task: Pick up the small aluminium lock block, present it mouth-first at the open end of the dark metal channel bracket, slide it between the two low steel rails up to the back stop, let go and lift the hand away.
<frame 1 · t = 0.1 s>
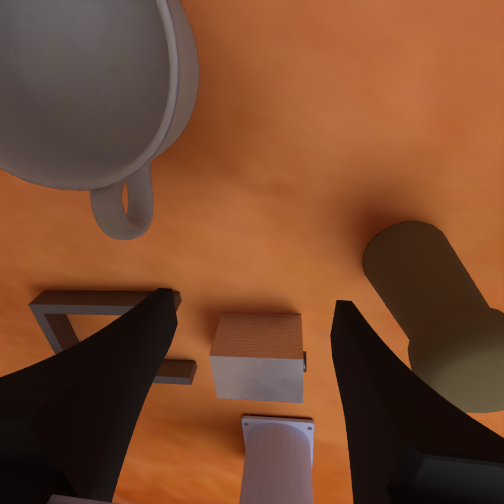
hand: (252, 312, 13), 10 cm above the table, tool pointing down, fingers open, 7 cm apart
lock block: (262, 333, 28), on the table
olive pawn piece: (404, 257, 22), on the table
teacup: (135, 94, 19), on the table
channel bracket: (129, 331, 29), on the table
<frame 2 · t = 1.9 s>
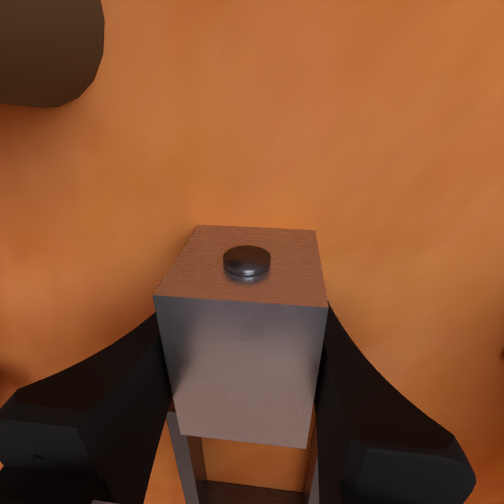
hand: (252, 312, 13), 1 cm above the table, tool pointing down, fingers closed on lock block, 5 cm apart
lock block: (255, 293, 14), on the table, touching gripper
olive pawn piece: (19, 7, 10), on the table
channel bracket: (254, 444, 21), on the table
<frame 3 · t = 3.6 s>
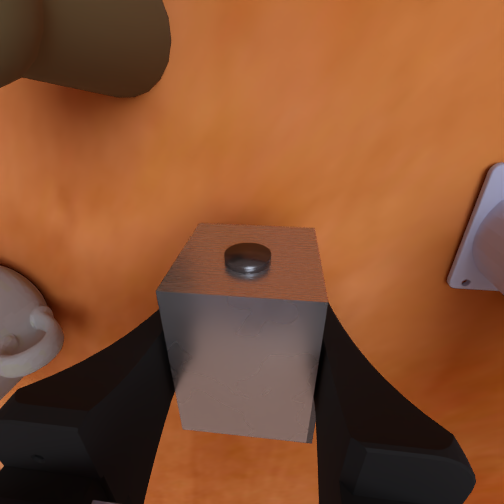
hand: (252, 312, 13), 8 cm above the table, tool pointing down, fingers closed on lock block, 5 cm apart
lock block: (255, 290, 15), point 6 cm above the table, touching gripper
olive pawn piece: (115, 32, 15), on the table
teacup: (28, 295, 25), on the table
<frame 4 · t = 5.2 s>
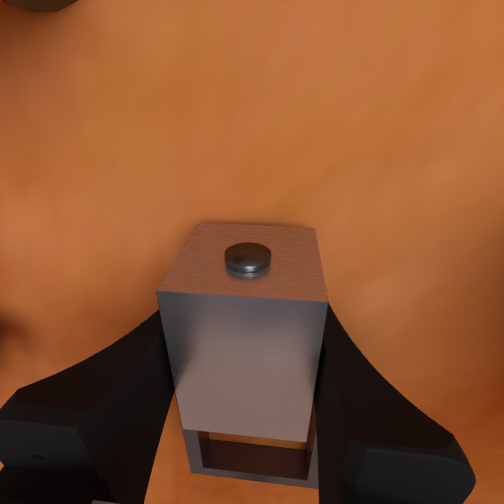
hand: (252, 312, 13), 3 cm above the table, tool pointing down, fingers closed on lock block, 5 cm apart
lock block: (255, 290, 15), point 1 cm above the table, touching gripper
channel bracket: (257, 396, 21), on the table
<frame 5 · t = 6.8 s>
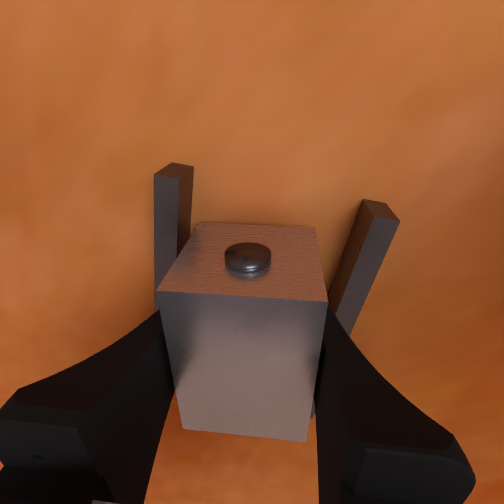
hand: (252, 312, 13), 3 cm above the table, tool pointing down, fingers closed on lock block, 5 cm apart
lock block: (255, 290, 15), point 1 cm above the table, touching gripper
channel bracket: (255, 290, 16), on the table
when the fingers open (3 cm above the table, at t = 8.3 s): lock block drops 1 cm, resting in channel bracket.
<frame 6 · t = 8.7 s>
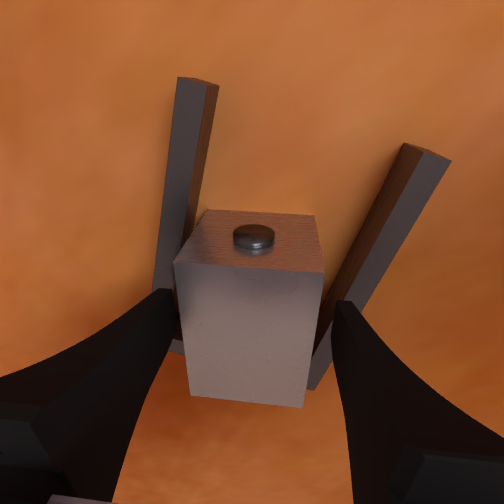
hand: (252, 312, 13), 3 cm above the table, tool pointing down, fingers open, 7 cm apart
lock block: (258, 273, 16), resting in channel bracket
channel bracket: (269, 243, 15), on the table
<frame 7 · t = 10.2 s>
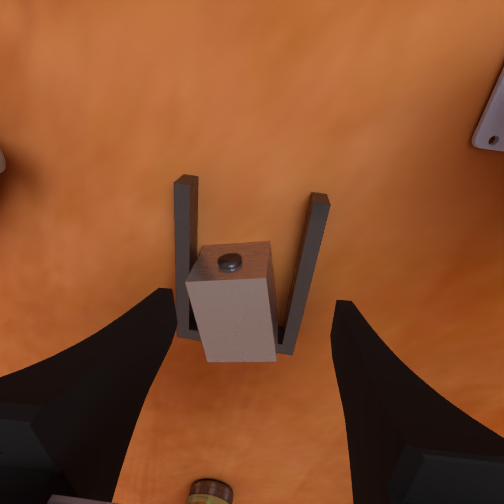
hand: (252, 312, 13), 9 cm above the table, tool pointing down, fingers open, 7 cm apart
lock block: (243, 281, 24), resting in channel bracket
sauce bottle: (212, 487, 41), on the table
channel bracket: (245, 261, 23), on the table
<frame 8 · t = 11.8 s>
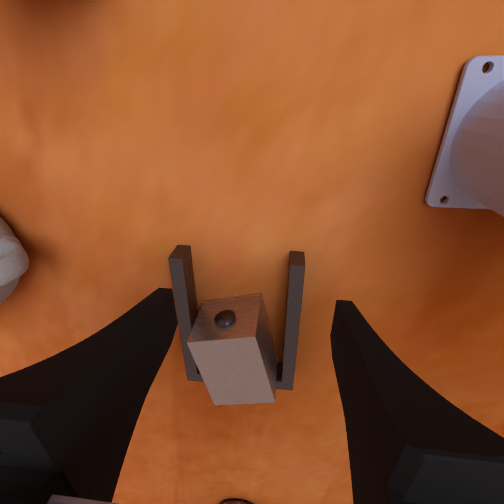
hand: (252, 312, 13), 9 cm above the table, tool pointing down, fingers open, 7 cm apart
lock block: (242, 326, 27), resting in channel bracket
channel bracket: (240, 310, 25), on the table
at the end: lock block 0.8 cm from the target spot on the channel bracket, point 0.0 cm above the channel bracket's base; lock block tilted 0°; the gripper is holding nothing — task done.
